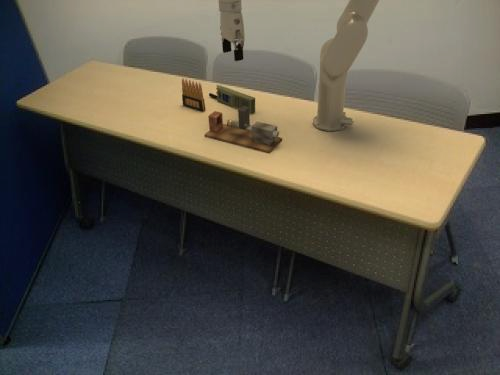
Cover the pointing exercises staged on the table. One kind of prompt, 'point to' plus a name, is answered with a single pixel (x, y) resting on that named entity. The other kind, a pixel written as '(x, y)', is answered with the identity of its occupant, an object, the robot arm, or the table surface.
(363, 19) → the robot arm
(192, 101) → the ammunition clip
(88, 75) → the table surface
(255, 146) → the tube stand
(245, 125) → the tube
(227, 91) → the handheld radio
